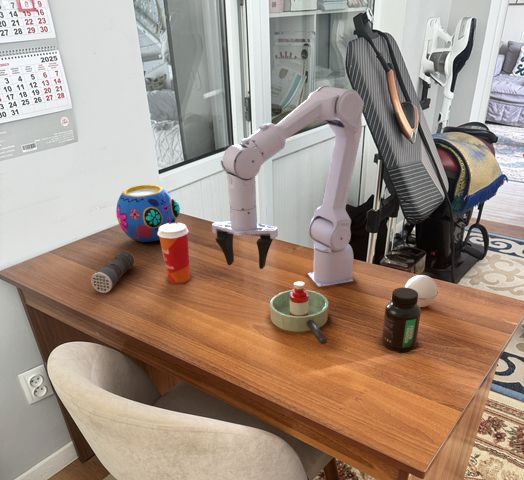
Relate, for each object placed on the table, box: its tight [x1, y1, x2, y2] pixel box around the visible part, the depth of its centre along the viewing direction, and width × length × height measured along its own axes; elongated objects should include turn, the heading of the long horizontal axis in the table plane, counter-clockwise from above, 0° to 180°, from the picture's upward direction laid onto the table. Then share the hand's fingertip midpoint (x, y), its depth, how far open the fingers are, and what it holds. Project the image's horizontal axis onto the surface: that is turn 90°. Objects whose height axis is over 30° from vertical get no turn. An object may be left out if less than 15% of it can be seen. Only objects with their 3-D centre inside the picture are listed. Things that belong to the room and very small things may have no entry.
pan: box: [269, 289, 330, 333], centre depth 115 cm, size 13×13×4 cm
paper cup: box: [158, 222, 191, 284], centre depth 132 cm, size 8×8×14 cm
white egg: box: [404, 274, 449, 308], centre depth 117 cm, size 10×7×7 cm
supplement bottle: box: [381, 286, 422, 354], centre depth 103 cm, size 7×7×12 cm
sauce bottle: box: [290, 280, 309, 316], centre depth 114 cm, size 4×4×8 cm
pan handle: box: [307, 320, 328, 345], centre depth 107 cm, size 9×2×2 cm, turn 17°
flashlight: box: [90, 250, 135, 294], centre depth 135 cm, size 15×5×5 cm, turn 168°
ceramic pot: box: [115, 184, 181, 243], centre depth 155 cm, size 18×18×15 cm
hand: (246, 265), depth 117 cm, fingers open, 7 cm apart
